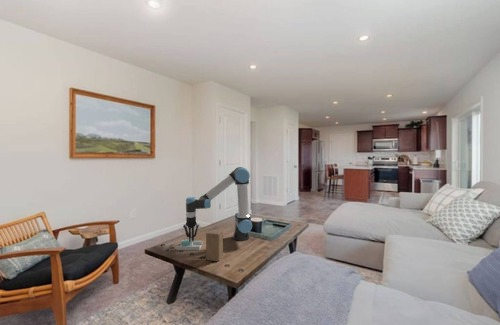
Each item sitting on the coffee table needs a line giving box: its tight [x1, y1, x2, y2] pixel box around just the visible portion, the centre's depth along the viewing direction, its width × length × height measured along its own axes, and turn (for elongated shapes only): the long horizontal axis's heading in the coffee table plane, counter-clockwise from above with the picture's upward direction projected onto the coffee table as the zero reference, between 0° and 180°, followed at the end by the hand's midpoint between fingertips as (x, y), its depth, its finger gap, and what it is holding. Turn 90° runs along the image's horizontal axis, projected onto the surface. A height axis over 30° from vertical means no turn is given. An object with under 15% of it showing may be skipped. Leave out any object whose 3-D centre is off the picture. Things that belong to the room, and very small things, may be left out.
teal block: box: [182, 238, 191, 246], centre depth 185 cm, size 6×6×5 cm
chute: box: [175, 240, 204, 251], centre depth 185 cm, size 18×12×4 cm, turn 90°
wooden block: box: [205, 228, 224, 262], centre depth 166 cm, size 10×10×20 cm
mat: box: [166, 244, 174, 252], centre depth 185 cm, size 8×11×1 cm
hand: (191, 245), depth 185 cm, fingers closed
